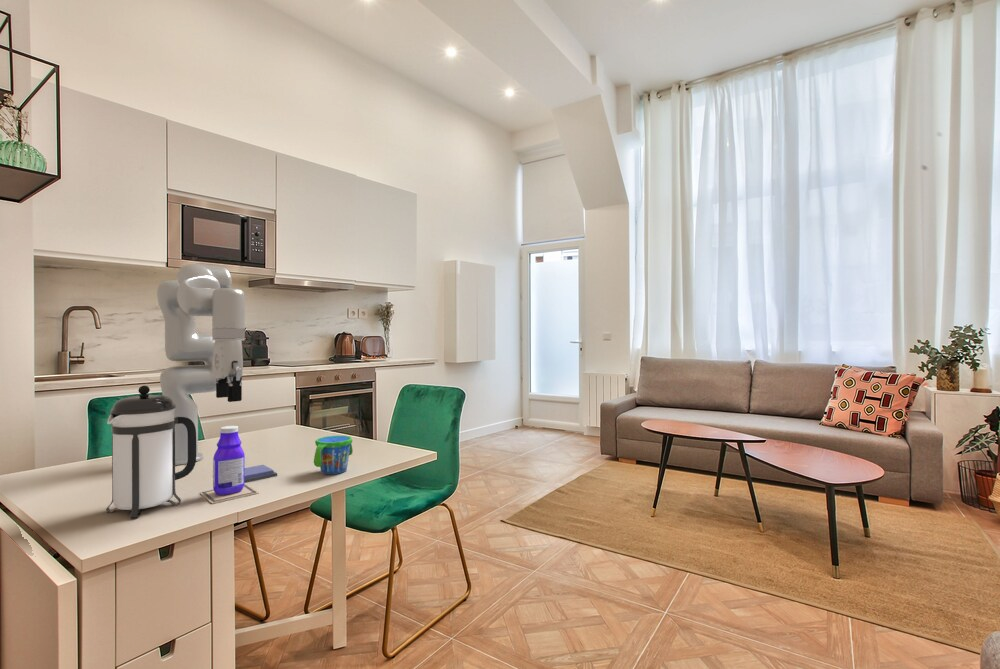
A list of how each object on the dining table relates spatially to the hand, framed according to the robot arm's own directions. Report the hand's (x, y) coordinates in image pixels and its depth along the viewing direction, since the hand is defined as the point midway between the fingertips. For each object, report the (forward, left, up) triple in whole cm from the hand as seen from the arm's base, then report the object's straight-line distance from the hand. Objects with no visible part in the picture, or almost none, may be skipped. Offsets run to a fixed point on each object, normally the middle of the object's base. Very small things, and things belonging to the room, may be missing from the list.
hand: (228, 399), depth 127 cm
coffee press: (-4, -17, -25) cm, 31 cm away
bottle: (0, 0, -25) cm, 25 cm away
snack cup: (+1, +29, -25) cm, 39 cm away
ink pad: (-12, +10, -25) cm, 30 cm away
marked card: (0, 0, -25) cm, 25 cm away
